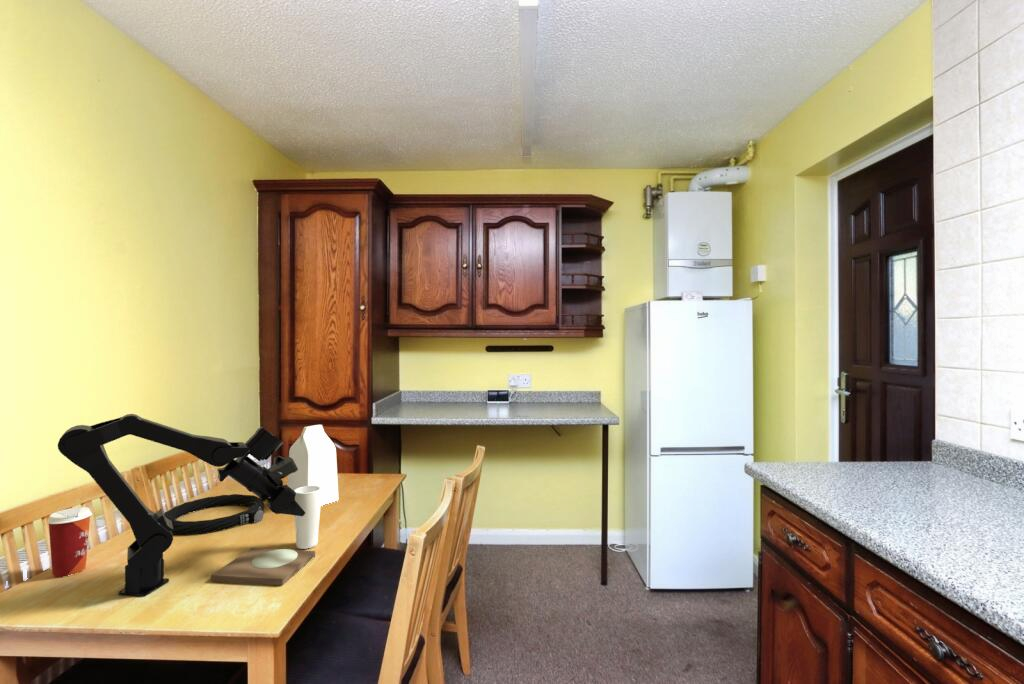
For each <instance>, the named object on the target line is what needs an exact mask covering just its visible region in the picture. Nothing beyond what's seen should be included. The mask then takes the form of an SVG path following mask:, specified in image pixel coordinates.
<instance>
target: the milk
mask: <svg viewBox="0 0 1024 684" xmlns="http://www.w3.org/2000/svg"><path fill="white" fill-rule="evenodd" d="M288 457H291V458H292V459H293V460H294V462H295V464H296V466H297V468H298V470H297V471H296V472H294V473H291V474H290V475H288V476H287V483H286V485H288V486H289V487H290V488H291V489H293V490H295V489H297V488H300V487H304V486H319V487H320V488H321V506H322V507H324V506H323V505H325V504H328V505H330V504H329V503H331V504H333V503H332V502H334V503H336V502H335V501H337V502H339V501H340V496H339V495H340V494H339V480H338V479H339V478H338V477H339V476H338V462H337V461H338V460H337V459H338V458H337V448H336V445H335V444H334V442H333V441H332V439H331V438H330V437H329V436H328V435H327V433H326V432H325V430H324V426H323V424H314V425H309V426H304V427H303V429H302V431H301V435H300V436H299V437H298V438H297V439H296V441H295V442H294V443H293V444H291V446H290V447H289V451H288ZM338 500H339V501H338ZM325 506H326V505H325Z"/></svg>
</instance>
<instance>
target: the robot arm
mask: <svg viewBox="0 0 1024 684" xmlns="http://www.w3.org/2000/svg"><path fill="white" fill-rule="evenodd" d="M130 435H131V436H135V437H137V438H141V439H144V440H147V441H150V442H154V443H158V444H161V445H164V446H168V447H171V448H174V449H177V450H181V451H184V452H186V453H189V454H190V455H192V456H194V457H196V458H197V459H199V460H201V461H203V462H205V463H207V464H208V465H211V466H213V467H218V468H217V479H218V480H219V482H224V480H225V479H226V478H228V477H230V478H232V480H234V481H236V482H237V483H238V484H240V485H241V486H242V487H244V488H246V490H247V491H248V492H250V493H253V494H254V495H255V496H256V497H258V498H260V499H261V500H263V501H264V502H265V501H266V502H267V503H266V504H267V505H266V507H267V508H268V509H269V511H271V512H272V513H274V514H275V515H281V514H282V515H289V516H294V515H296V516H303V515H304V514H305V511H304V510H303V509H302V508H301V507H300V506H299V504H298V503H297V502H296V501H295V496H296V492H295V491H294V490H293V489H291V488H290V487H289V486H288V485H287V484H284V480H283V479H284V478H287V477H288V475H290V474H291V473H294V472H296V471H297V470H298V468H297V466H296V464H295V462H294V460H293V459H292V458H291V457H289V456H285V457H283V456H280V455H278V456H276V457H273V464H271V466H270V467H268V468H267V467H265V466H261V465H260V463H259V464H258V463H257V462H256V461H254V460H253V459H252V458H251V457H253V458H255V459H256V460H257V461H258V462H261V461H262V462H263V461H267V460H268V459H269V458H271V456H272V455H273V454H274V453H275V452H276V451H277V450H278V449H279V448H280V447H281V446H282V445H283V444H284V442H283V441H282V440H281V439H280V438H278V437H277V436H276V435H274V434H273V433H271V432H269V431H268V430H267V429H265V428H264V427H262V426H260V427H258V428H257V430H255V433H254V434H253V435H251V437H250V438H248V439H247V440H246V442H243V441H241V442H240V441H237V442H236V441H232V442H230V441H228V440H226V439H224V438H220V437H214V436H208V435H207V436H206V435H199V434H197V435H196V434H192V433H190V432H187V431H184V430H181V429H177V428H175V427H171V426H168V425H166V424H165V425H164V424H162V423H159V422H156V421H153V420H149V419H147V418H144V417H141V416H140V415H138V414H135V413H127V414H125V415H123V416H120V417H117V418H114V419H110V420H107V421H102V422H99V423H95V424H93V425H85V424H79V425H78V424H77V425H74V426H72V427H70V428H68V429H66V430H65V432H64V433H63V434H61V437H60V438H59V440H58V442H57V449H58V451H59V453H60V454H61V455H62V456H64V457H66V459H68V460H69V461H70V462H72V463H73V465H75V466H76V467H77V466H78V468H80V469H82V470H83V471H85V472H87V474H89V476H90V477H91V478H92V480H93V481H94V482H95V483H96V485H98V487H99V488H100V489H101V491H102V492H104V494H105V495H106V496H107V498H108V499H109V501H111V502H112V504H113V505H114V507H115V508H116V509H117V511H119V513H120V514H121V515H122V516H123V518H124V519H125V520H126V521H127V522H128V523H129V526H130V528H131V531H132V533H133V535H134V538H135V540H134V541H133V542H132V543H131V544H130V545H129V546H128V547H127V557H126V558H127V564H126V565H124V588H122V589H121V590H119V591H117V595H124V596H140V597H144V596H147V595H148V594H151V593H153V592H154V591H155V590H157V589H159V588H160V587H162V586H163V585H165V584H167V583H169V582H170V578H167V577H166V578H165V574H164V573H165V559H164V553H165V552H166V551H167V550H168V549H170V547H171V546H172V544H173V540H174V536H173V535H174V534H172V531H173V525H172V521H171V520H169V519H167V518H166V517H165V515H164V513H165V512H164V510H163V508H160V509H158V510H157V511H156V512H154V511H152V510H151V509H149V507H147V505H146V504H145V503H144V502H143V501H142V499H141V498H140V497H139V495H138V494H137V493H136V492H135V490H134V489H133V487H131V485H130V484H129V483H128V482H127V480H126V479H125V477H124V476H123V475H122V474H121V473H120V472H119V470H118V469H117V467H116V466H115V464H113V462H112V461H111V459H110V458H109V456H108V453H107V451H106V449H105V446H104V445H106V444H108V443H111V442H113V441H117V440H119V439H120V438H123V437H125V436H130ZM249 455H250V456H251V457H249ZM220 467H221V468H220Z"/></svg>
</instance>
